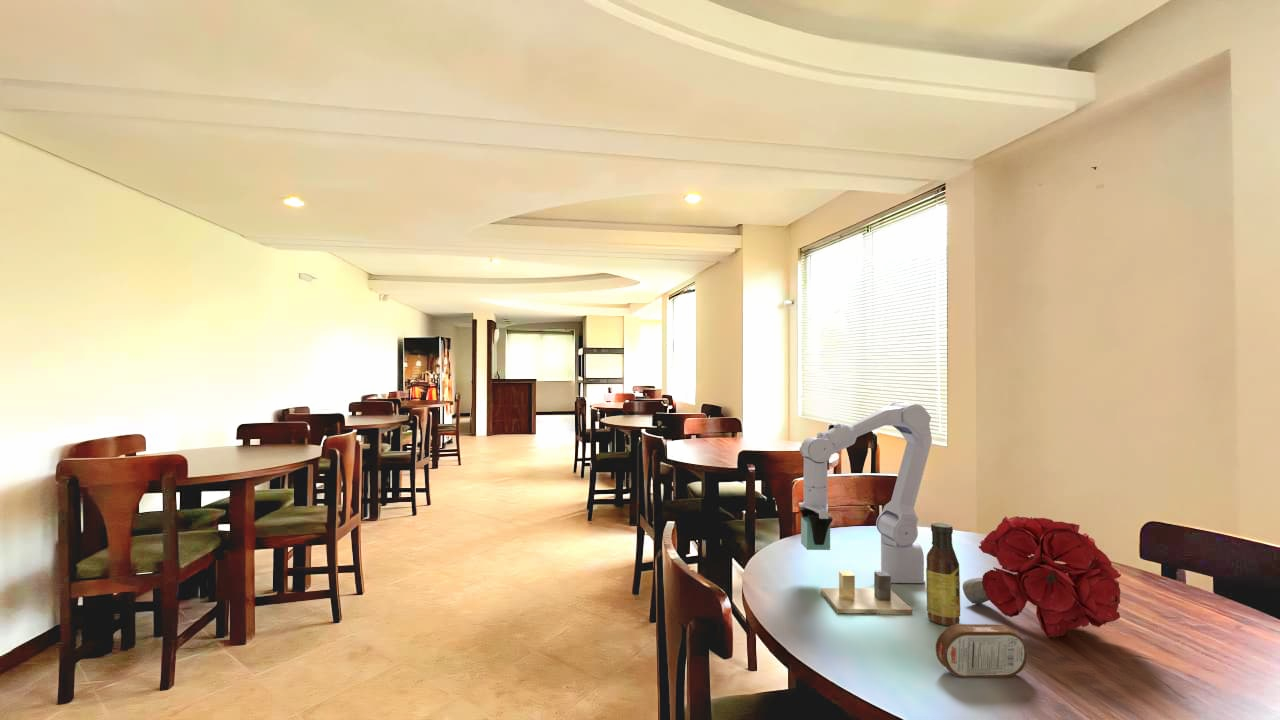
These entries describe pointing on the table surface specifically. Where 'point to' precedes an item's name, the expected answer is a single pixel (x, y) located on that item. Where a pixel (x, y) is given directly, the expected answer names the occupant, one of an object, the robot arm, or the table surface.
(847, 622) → the table surface
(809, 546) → the pale aqua cube
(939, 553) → the sauce bottle
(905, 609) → the birch board
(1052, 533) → the bouquet
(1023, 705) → the table surface
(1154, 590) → the table surface
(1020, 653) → the tin
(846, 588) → the brass post
